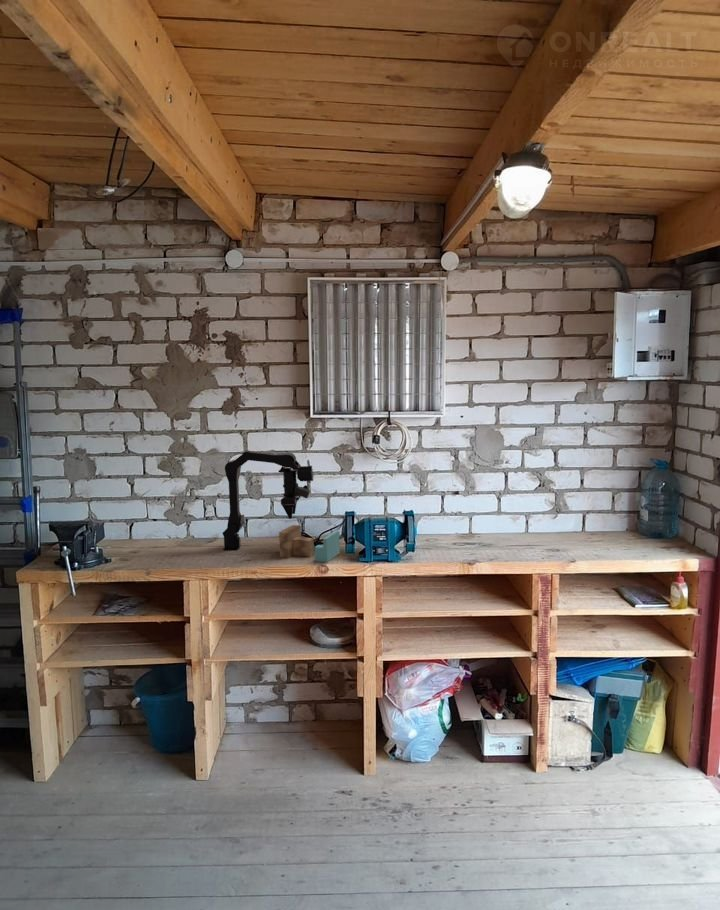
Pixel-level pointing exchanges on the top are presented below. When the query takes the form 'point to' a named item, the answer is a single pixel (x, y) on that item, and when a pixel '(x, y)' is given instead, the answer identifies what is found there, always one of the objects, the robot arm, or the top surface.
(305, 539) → the walnut t block
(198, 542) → the top surface
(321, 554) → the teal block
